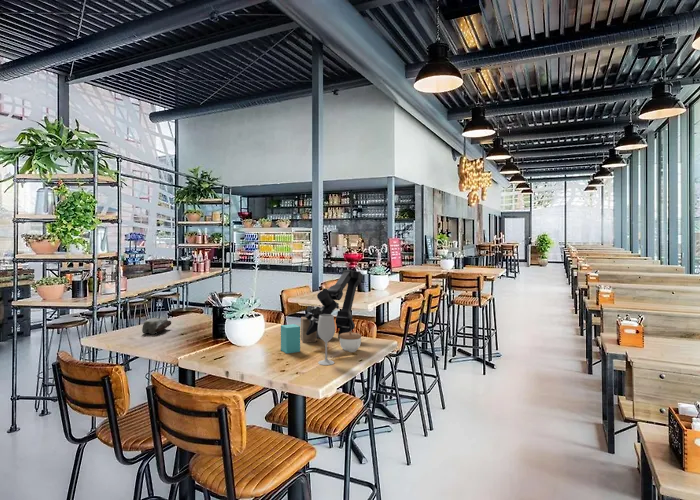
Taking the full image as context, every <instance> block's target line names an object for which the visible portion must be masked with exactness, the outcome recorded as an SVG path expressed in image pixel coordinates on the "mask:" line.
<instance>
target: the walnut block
mask: <svg viewBox="0 0 700 500" xmlns="http://www.w3.org/2000/svg"><path fill="white" fill-rule="evenodd" d="M309 324H310V322H309V320H308V319H307V318H306V317H305V316H301V317H300V341H301V342H302V343H313V342H314V343H315V342H317V338H316V332H314V333H312V334H310V335H306V332H307V330H308V327H309Z"/></svg>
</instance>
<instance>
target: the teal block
mask: <svg viewBox="0 0 700 500" xmlns="http://www.w3.org/2000/svg"><path fill="white" fill-rule="evenodd" d="M280 351H281V352H282V353H285V354H293V353H300V352H301V325H297V324H296V323H291V324H284V325H283V324H282V325H280Z"/></svg>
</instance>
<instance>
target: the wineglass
mask: <svg viewBox="0 0 700 500" xmlns="http://www.w3.org/2000/svg"><path fill="white" fill-rule="evenodd" d="M335 333H336V322H335V318H334V315H333V314H332V313H331V314H322V315H320V316H319V321H318V335H319V337H320V338H319V339H321V340H322V341H323V342H324V343H325V345H324V346H325V347H324V348H325V349H324V350H325V357H324V359H323V360H319V361H317V363H318V365H320V366H332V365H334V364H335V361H333V360H331V359H329V358H328V342H330V340H331V339H333V338H334V336H335Z"/></svg>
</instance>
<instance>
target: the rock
mask: <svg viewBox="0 0 700 500" xmlns="http://www.w3.org/2000/svg"><path fill="white" fill-rule="evenodd" d="M171 325H172V321H171V320H168V317H163V318H160V317H151V318H149V319H146V320H145V321H144V322H143V324H142V327H141V331H142V334H147V333H149V334H151V335H156V334H158V333H161V332H162V331H164V330H166V329H167V328H169V327H170V326H171ZM157 332H158V333H157ZM155 333H156V334H155Z"/></svg>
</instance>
